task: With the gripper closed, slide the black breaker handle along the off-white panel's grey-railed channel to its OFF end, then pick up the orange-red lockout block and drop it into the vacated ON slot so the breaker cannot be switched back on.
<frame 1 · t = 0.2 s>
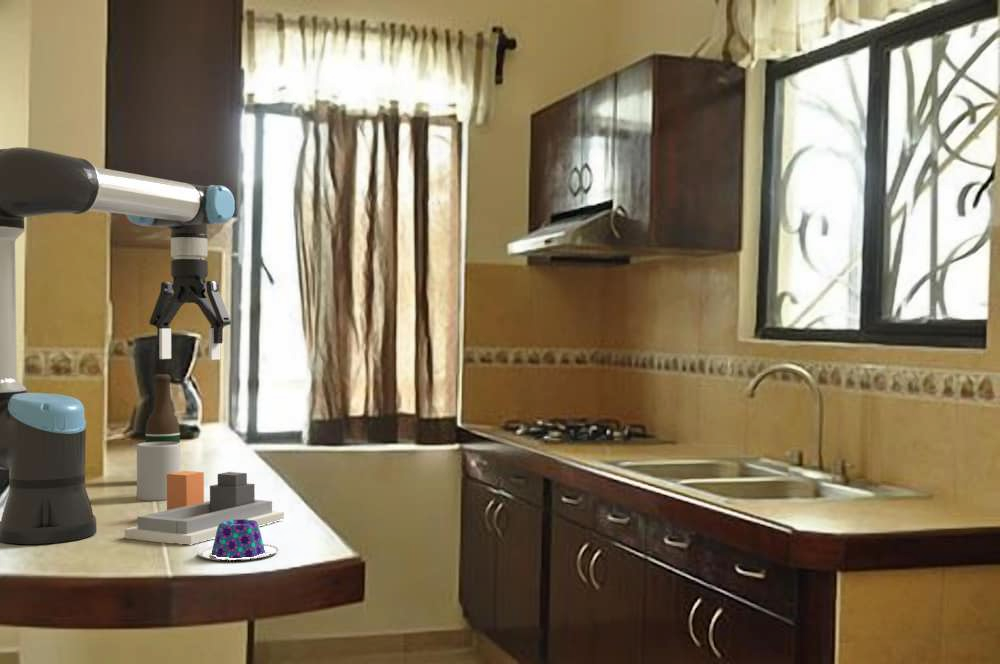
hand: (189, 359, 229), 28 cm above the counter, fingers open, 13 cm apart
beer bottle: (162, 482, 242), on the counter
lockout block: (185, 516, 198), on the counter
mug: (159, 497, 221), on the counter
breaker handle: (232, 493, 191), point 5 cm above the counter, slide at 0.0 cm
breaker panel: (207, 529, 185), on the counter
pudding: (238, 557, 165), on the counter
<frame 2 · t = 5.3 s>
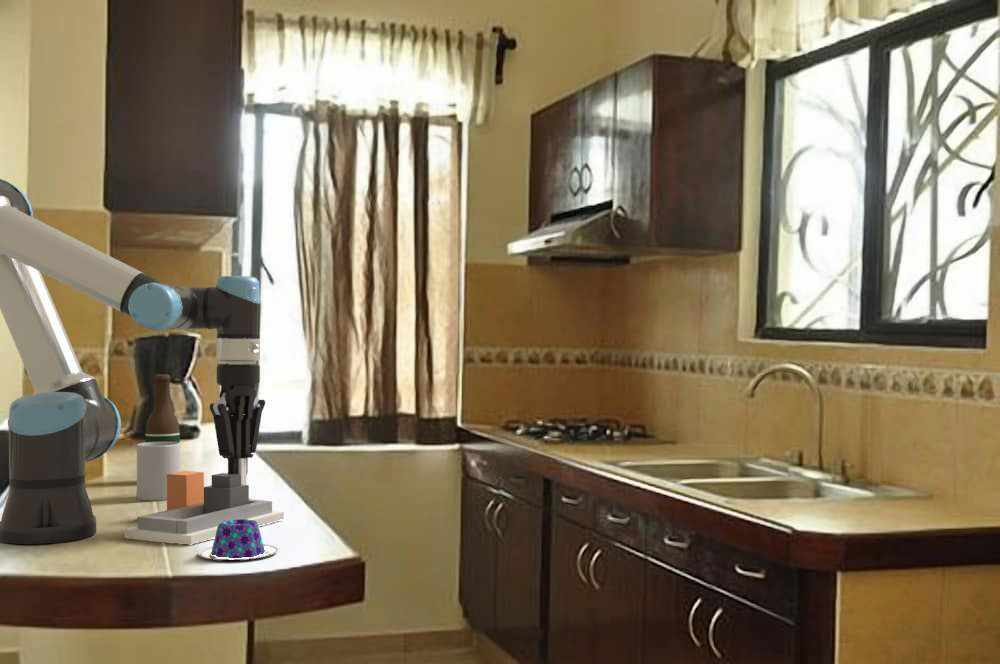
hand: (237, 494, 193), 5 cm above the counter, fingers closed
breaker handle: (226, 494, 190), point 5 cm above the counter, slide at 1.6 cm, touching gripper
everything else where it was.
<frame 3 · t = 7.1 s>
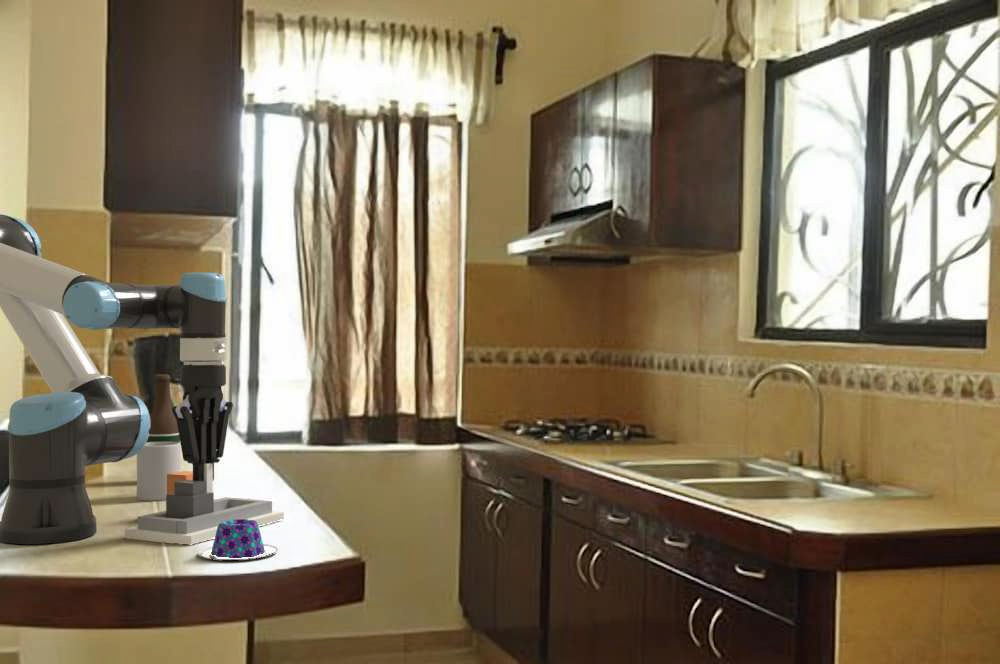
hand: (203, 501, 184), 5 cm above the counter, fingers closed
breaker handle: (190, 502, 181), point 5 cm above the counter, slide at 10.8 cm, touching gripper
everything else where it was.
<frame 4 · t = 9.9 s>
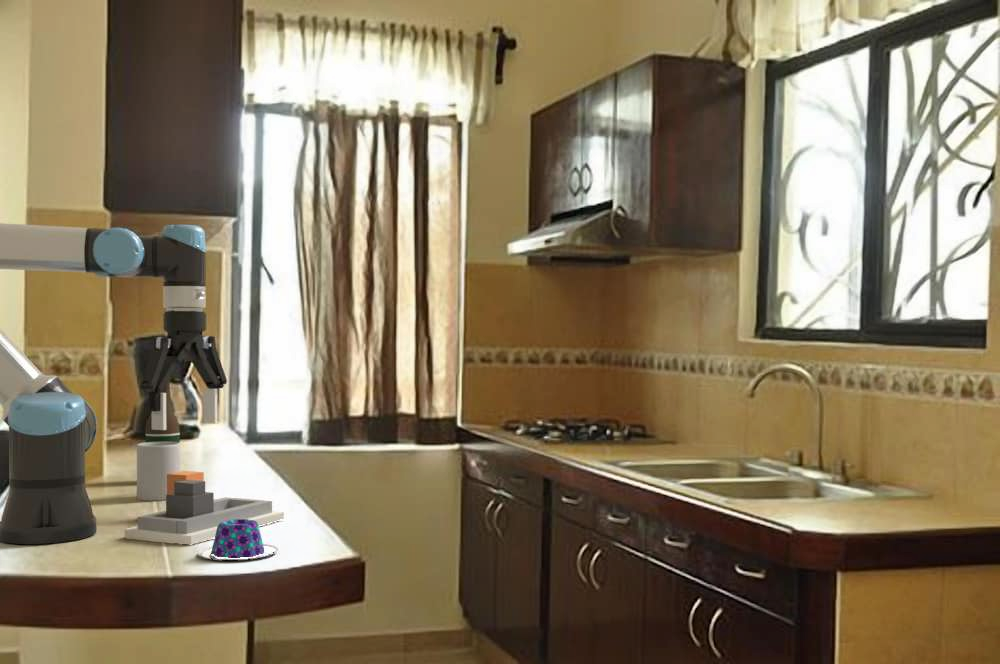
hand: (185, 426, 198), 16 cm above the counter, fingers open, 13 cm apart
breaker handle: (189, 502, 181), point 5 cm above the counter, slide at 10.9 cm
everything else where it was.
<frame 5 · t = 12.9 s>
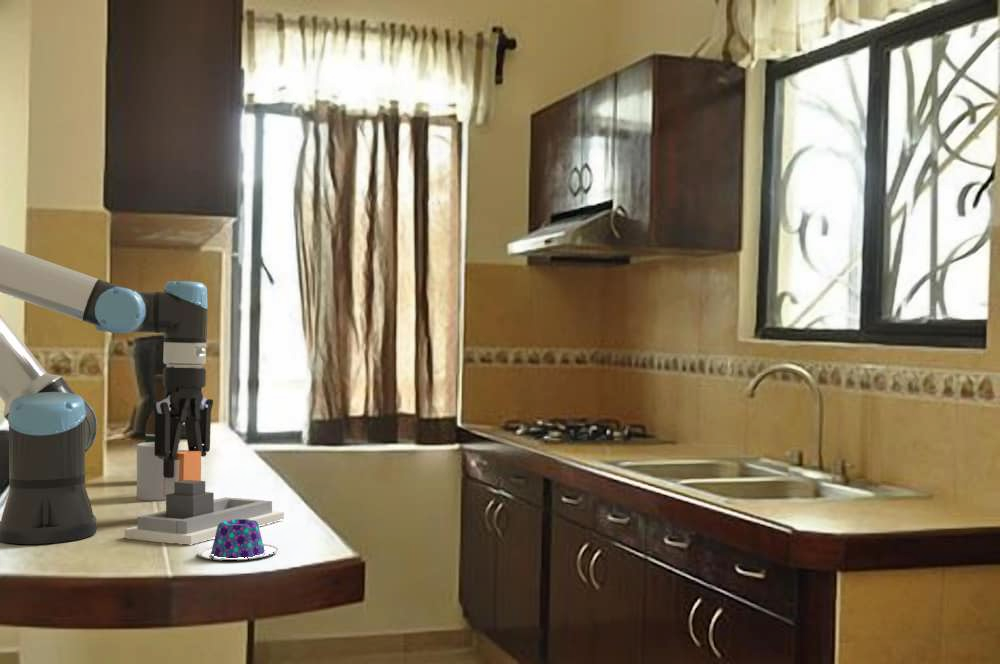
hand: (181, 493, 197), 4 cm above the counter, fingers closed on lockout block, 5 cm apart
lockout block: (182, 495, 197), point 4 cm above the counter, touching gripper
everything else where it was.
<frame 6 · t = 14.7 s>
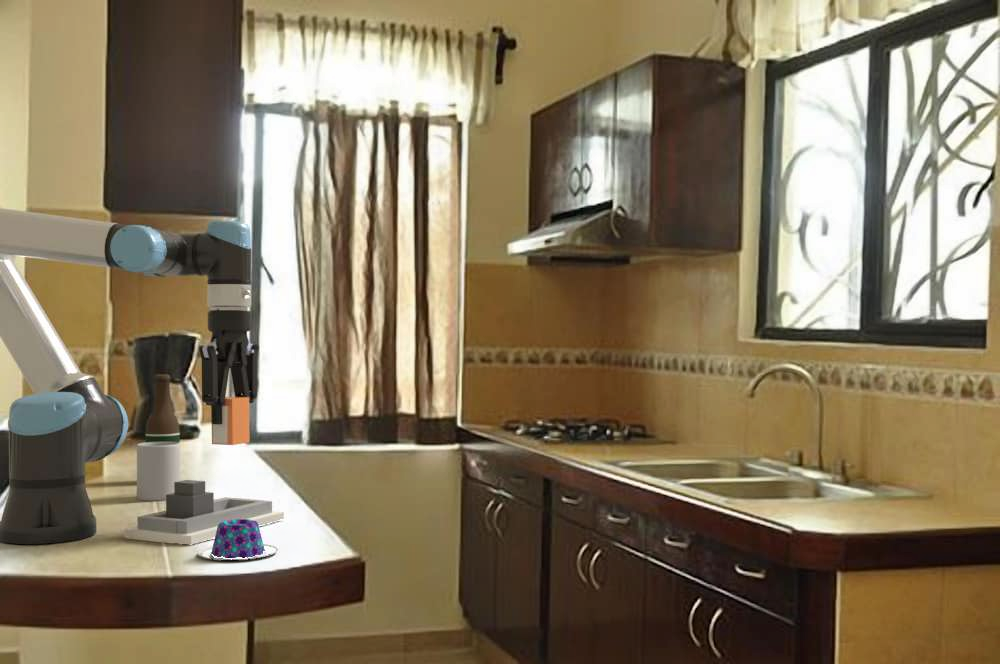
hand: (230, 441, 191), 14 cm above the counter, fingers closed on lockout block, 5 cm apart
lockout block: (230, 443, 191), point 14 cm above the counter, touching gripper
everything else where it was.
when the fingers open (3 cm above the counter, at t = 16.9 s): lockout block drops 1 cm, resting on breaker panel.
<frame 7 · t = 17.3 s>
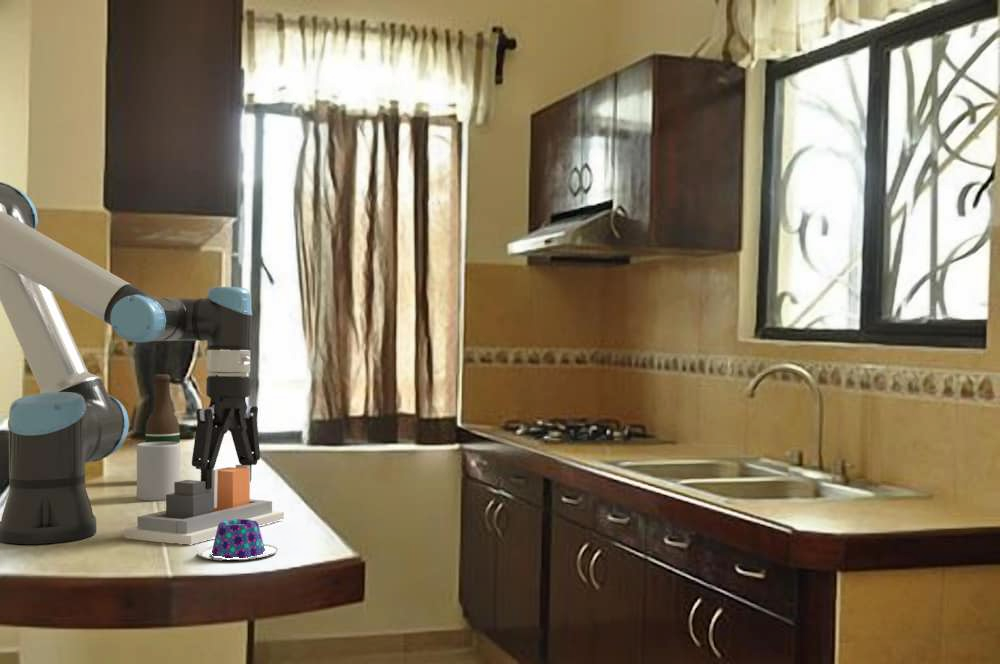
hand: (226, 504, 190), 4 cm above the counter, fingers open, 8 cm apart
lockout block: (230, 514, 191), point 1 cm above the counter, touching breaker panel
everything else where it was.
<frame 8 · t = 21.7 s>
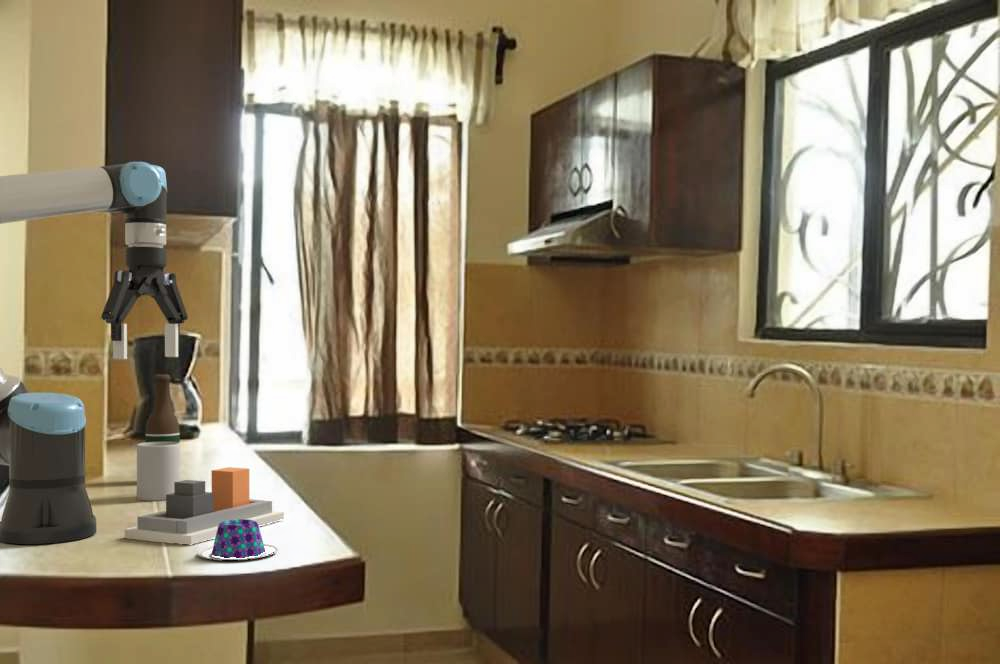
hand: (146, 358, 207), 29 cm above the counter, fingers open, 13 cm apart
at the end: breaker handle slide at 10.9 cm; lockout block 0.2 cm from the target spot on the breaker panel, point 1.5 cm above the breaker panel's base; lockout block tilted 0° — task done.
